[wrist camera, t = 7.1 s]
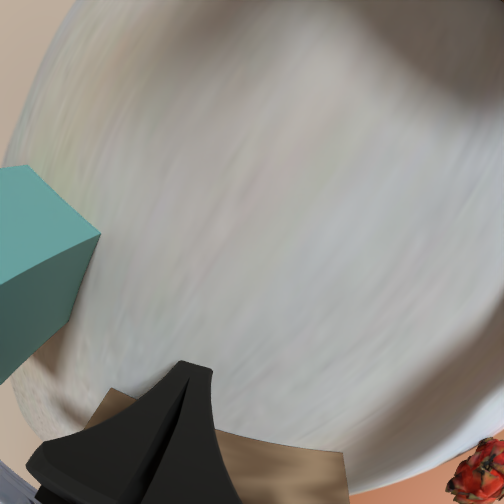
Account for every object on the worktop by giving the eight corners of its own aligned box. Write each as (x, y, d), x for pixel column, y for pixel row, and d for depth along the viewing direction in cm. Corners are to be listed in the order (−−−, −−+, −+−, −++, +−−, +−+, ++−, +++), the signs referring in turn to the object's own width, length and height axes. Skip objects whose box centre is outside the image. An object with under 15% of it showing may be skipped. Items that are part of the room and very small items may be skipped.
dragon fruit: (468, 459, 18) (457, 421, 17) (524, 450, 11) (530, 405, 10) (446, 516, 12) (430, 496, 12) (507, 512, 6) (515, 489, 5)
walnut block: (342, 452, 14) (351, 521, 8) (330, 462, 14) (337, 527, 9) (111, 387, 13) (68, 453, 8) (111, 401, 14) (73, 463, 8)
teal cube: (102, 232, 10) (-6, 288, 5) (68, 323, 12) (0, 387, 6) (29, 164, 10) (-66, 181, 4) (6, 257, 11) (-64, 295, 6)
